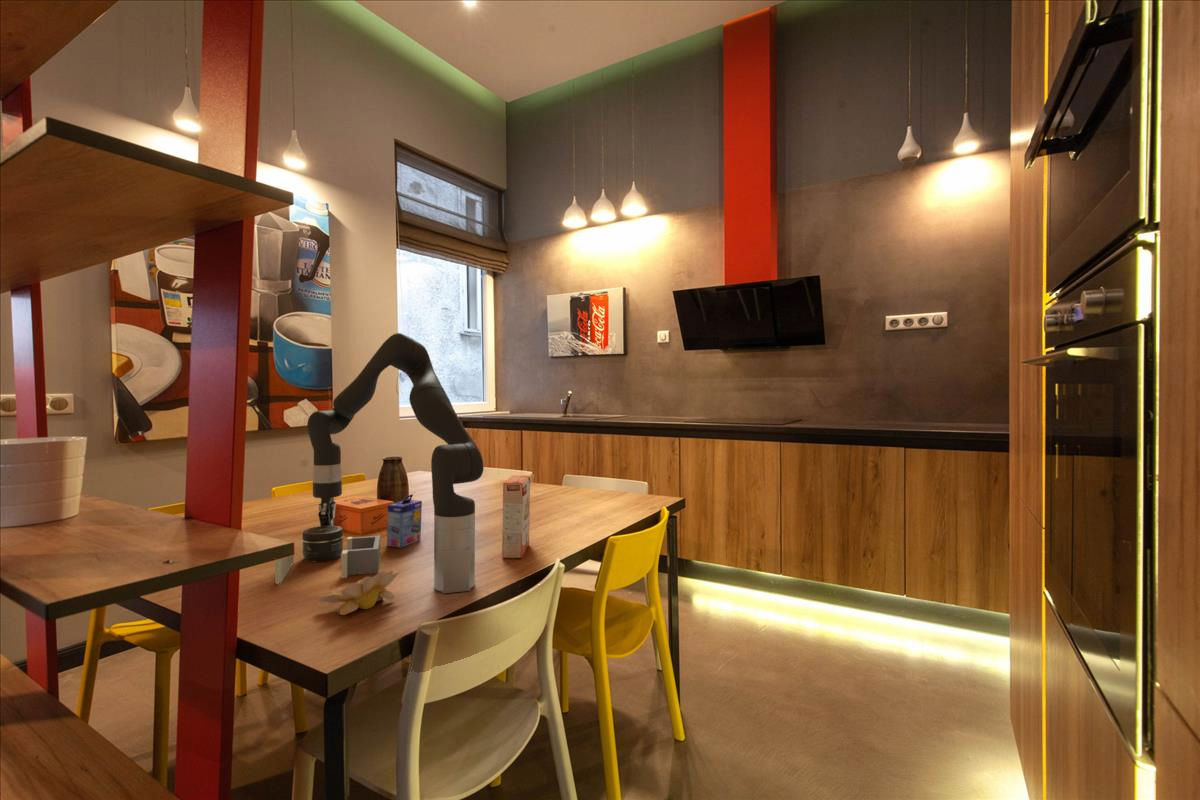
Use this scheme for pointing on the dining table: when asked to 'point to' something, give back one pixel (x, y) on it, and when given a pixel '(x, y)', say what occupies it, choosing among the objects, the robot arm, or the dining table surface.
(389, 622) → the dining table surface
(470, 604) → the dining table surface
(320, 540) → the jar
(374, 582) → the decorative flower
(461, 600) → the dining table surface
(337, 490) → the robot arm
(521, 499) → the cracker box
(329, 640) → the dining table surface
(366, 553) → the channel
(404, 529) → the ink cartridge box
